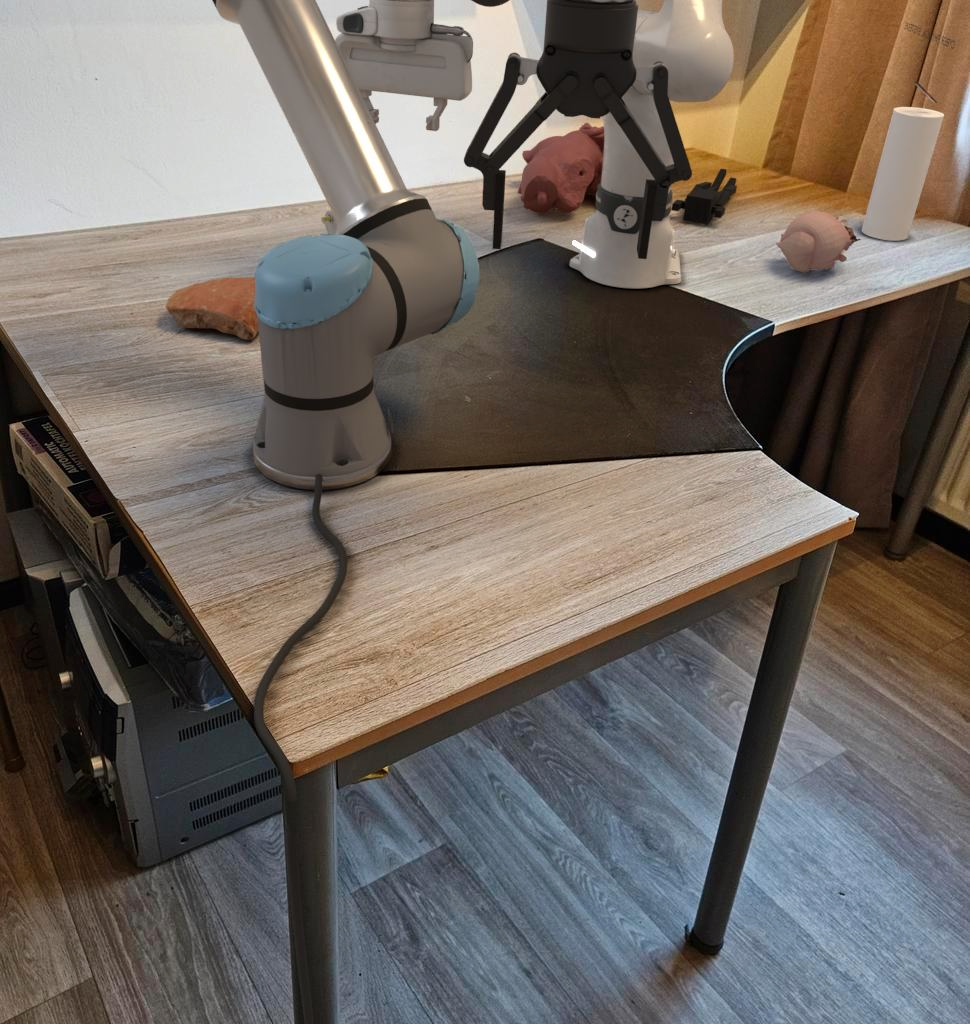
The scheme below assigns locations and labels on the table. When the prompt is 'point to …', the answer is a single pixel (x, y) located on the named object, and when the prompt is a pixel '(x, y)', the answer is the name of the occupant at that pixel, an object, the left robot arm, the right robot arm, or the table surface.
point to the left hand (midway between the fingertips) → (569, 249)
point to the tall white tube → (902, 168)
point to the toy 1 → (706, 200)
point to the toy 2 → (816, 241)
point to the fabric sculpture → (563, 170)
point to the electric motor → (330, 222)
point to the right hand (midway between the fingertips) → (402, 126)
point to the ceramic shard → (217, 306)
